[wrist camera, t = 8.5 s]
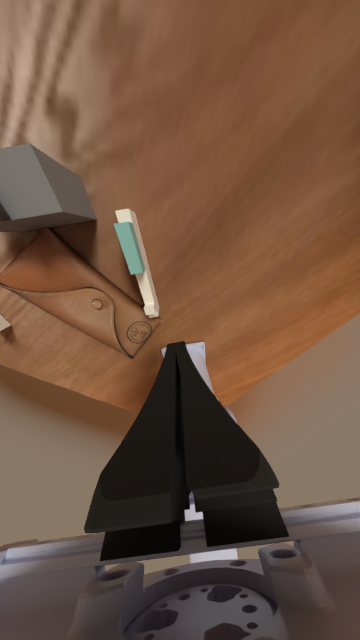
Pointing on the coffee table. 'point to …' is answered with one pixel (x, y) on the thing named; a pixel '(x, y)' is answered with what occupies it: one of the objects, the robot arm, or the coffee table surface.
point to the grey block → (39, 192)
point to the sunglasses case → (77, 293)
